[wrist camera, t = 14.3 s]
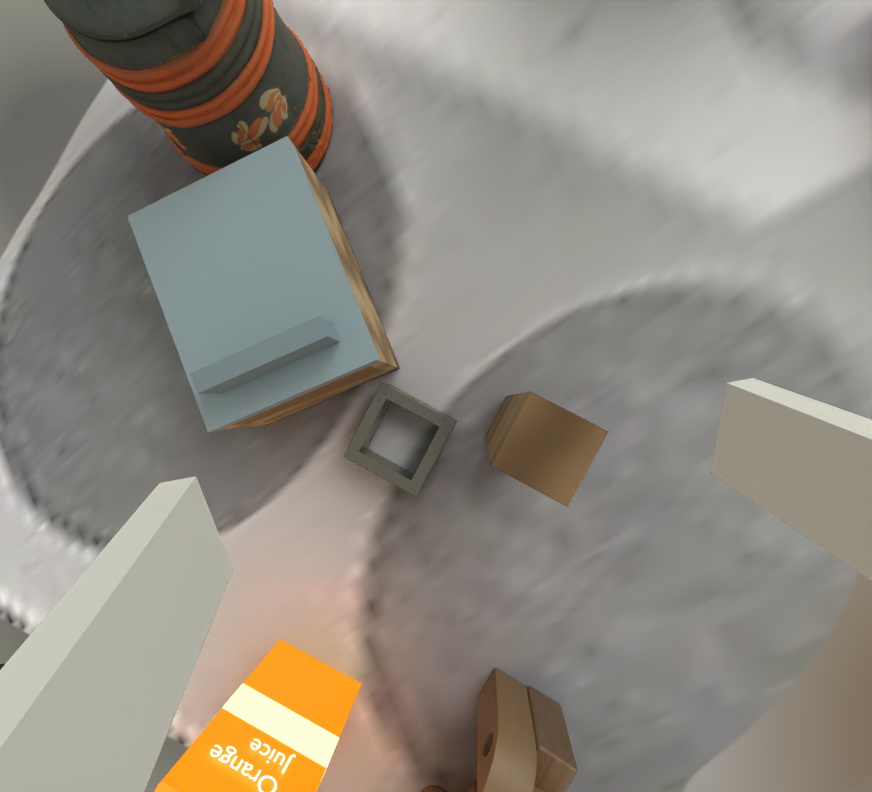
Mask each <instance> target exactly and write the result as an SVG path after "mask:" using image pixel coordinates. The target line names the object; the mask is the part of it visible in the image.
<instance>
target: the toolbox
mask: <svg viewBox="0 0 872 792" xmlns="http://www.w3.org/2000/svg"><path fill="white" fill-rule="evenodd" d="M295 148H296V147H295ZM296 151H297V153H298V156H299V158H300V161H301V163H302V166H303V168H304V171H305V173H306V176H307V178H308V181H309V183H310V186H311V188H312V191H313V193H314V196H315V198H316V201H317V203H318V206H319V208H320V211H321V213H322V216H323V218H324V221H325V223H326V226H327V228H328V230H329V233H330V235H331V238H332V240H333V243H334V245H335V248H336V250H337V253H338V255H339V258H340V260H341V263H342V265H343V268H344V270H345V273H346V275H347V278H348V280H349V283H350V285H351V288H352V290H353V293H354V295H355V298H356V300H357V303H358V305H359V308H360V310H361V313H362V315H363V318H364V320H365V323H366V325H367V328H368V330H369V333H370V335H371V338H372V340H373V343H374V345H375V348H376V350H377V352H378V355H379V357H380V360H381V361H380V362H378V363H376V364H373V365H371V366H369V367H366V368H364V369H362V370H359V371H357V372H355V373H352V374H350V375H348V376H345V377H343V378H341V379H338V380H336V381H334V382H331V383H329V384H327V385H324V386H322V387H320V388H317V389H315V390H313V391H310V392H308V393H306V394H303V395H301V396H299V397H297V398H294V399H292V400H290V401H287V402H285V403H283V404H280V405H278V406H276V407H273V408H271V409H269V410H266V411H264V412H262V413H259V414H257V415H255V416H252V417H250V418H248V419H245V420H243V421H241V422H238V423H236V424H234V425H231V426H229V427H227V428H224V429H222V430H225V429H234V428H243V427H252V426H261V425H267V424H270V423H272V422H274V421H277V420H279V419H281V418H284V417H286V416H288V415H291V414H293V413H295V412H298V411H300V410H302V409H305V408H307V407H310V406H312V405H314V404H317V403H319V402H321V401H324V400H326V399H328V398H331V397H333V396H335V395H338V394H340V393H343V392H345V391H347V390H350V389H352V388H354V387H357V386H359V385H361V384H364V383H366V382H368V381H371V380H373V379H375V378H378V377H380V376H383V375H385V374H387V373H390V372H392V371H394V370H397V369H399V365H398V363H397V360H396V358H395V356H394V353H393V351H392V348H391V346H390V343H389V341H388V338H387V336H386V333H385V331H384V328H383V326H382V323H381V321H380V318H379V316H378V313H377V311H376V308H375V306H374V304H373V301H372V299H371V296H370V294H369V291H368V289H367V286H366V284H365V281H364V279H363V276H362V274H361V271H360V269H359V266H358V264H357V261H356V259H355V256H354V254H353V252H352V249H351V247H350V244H349V242H348V239H347V237H346V234H345V232H344V229H343V227H342V224H341V222H340V219H339V217H338V214H337V212H336V209H335V207H334V205H333V202H332V200H331V197H330V195H329V192H328V191H327V190H326V188H325V187H324V186H323V184H322V183H321V181H320V180H319V179H318V177H317V176H316V175H315V173H314V172H313V170H312V169H311V168H310V166H309V165H308V164H307V162H306V161H305V159H304V158H303V157H302V155H301V154H300V153H299V151H298V150H297V148H296Z"/></svg>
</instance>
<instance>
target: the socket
mask: <svg viewBox="0 0 872 792" xmlns="http://www.w3.org/2000/svg"><path fill="white" fill-rule="evenodd" d="M391 401H392V402H394V403H396V404H398V405H399V406H401V407H403V408H405V409H407V410H409V411H411V412H412V413H414V414H416V415H418V416H420V417H422V418H424V419H426V420H427V421H429V422H431V423H433V424H435V425H437V426H439V429H438V431H437V432H436V434H435V436H434V438H433V440H432V442H431V444H430V446H429V448H428V450H427V452H426V453H425V455H424V457H423V459H422V461H421V463H420V465H419V467H418V469H417V471H416V473H415V474H412V473H411V472H409V471H407V470H405V469H403V468H402V467H400V466H398V465H396V464H394V463H393V462H391V461H389V460H387V459H385V458H383V457H382V456H380V455H378V454H376V453H374V452H373V451H371V450H369V449H367V447H368V445H369V443H370V441H371V439H372V437H373V435H374V433H375V431H376V429H377V428H378V426H379V424H380V422H381V420H382V418H383V416H384V414H385V412H386V410H387V408H388V406H389V404H390V402H391ZM456 422H457V420H455V419H453V418H451V417H449V416H447V415H445V414H444V413H442V412H440V411H438V410H436V409H434V408H432V407H430V406H429V405H427V404H425V403H423V402H421V401H419V400H417V399H415V398H413V397H412V396H410V395H408V394H406V393H404V392H402V391H400V390H398V389H396V388H395V387H393V386H391V385H389V384H385V383H381V385H380V387H379V388H378V390H377V392H376V394H375V396H374V398H373V400H372V402H371V404H370V406H369V408H368V410H367V412H366V414H365V416H364V418H363V420H362V421H361V423H360V425H359V427H358V429H357V431H356V433H355V435H354V437H353V439H352V441H351V443H350V445H349V447H348V449H347V451H346V453H345V454H344V457H346V458H348V459H349V460H351V461H353V462H355V463H357V464H358V465H360V466H362V467H364V468H365V469H367V470H369V471H371V472H373V473H374V474H376V475H378V476H380V477H382V478H383V479H385V480H387V481H389V482H391V483H392V484H394V485H396V486H398V487H399V488H401V489H403V490H405V491H407V492H408V493H410V494H412V495H414V496H417V495H418V493H419V492H420V490H421V488H422V486H423V484H424V482H425V481H426V479H427V477H428V475H429V473H430V471H431V469H432V467H433V465H434V463H435V462H436V460H437V458H438V456H439V454H440V452H441V450H442V448H443V446H444V444H445V443H446V441H447V439H448V437H449V435H450V433H451V431H452V429H453V427H454V425H455V424H456Z"/></svg>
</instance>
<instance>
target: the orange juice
mask: <svg viewBox="0 0 872 792" xmlns="http://www.w3.org/2000/svg"><path fill="white" fill-rule="evenodd" d="M360 686H361V683H359V682H357V681H355V680H353V679H352V678H350V677H348V676H346V675H344V674H342V673H341V672H339V671H337V670H335V669H333V668H331V667H330V666H328V665H326V664H324V663H322V662H320V661H319V660H317V659H315V658H313V657H311V656H309V655H308V654H306V653H304V652H302V651H300V650H298V649H297V648H295V647H293V646H291V645H289V644H288V643H286V642H284V641H282V640H279V642H278V643H277V644H276V645H275V646H274V648H273V649H272V650H271V651H270V652H269V653H268V655H267V656H266V657H265V658H264V659H263V661H262V662H261V663H260V664H259V665H258V667H257V668H256V669H255V670H254V671H253V673H252V674H251V675H250V676H249V677H248V678H247V680H246V681H245V682H244V683H242V685H241V686H240V687H239V688H238V689H237V691H236V692H235V693H234V694H233V695H232V697H231V698H230V699H229V700H228V701H227V702H226V704H225V705H224V706H223V707H222V709H221V711H220V712H219V713H218V714H217V715H216V717H215V718H214V719H213V720H212V721H211V723H210V724H209V725H208V726H207V727H206V729H205V730H204V731H203V732H202V733H201V734H200V736H199V737H198V738H197V739H196V740H195V742H194V743H193V744H192V745H191V746H190V748H189V749H188V750H187V751H186V752H185V754H184V755H183V756H182V757H181V758H180V760H179V761H178V762H177V763H176V765H174V767H173V768H172V769H171V770H170V772H169V773H168V774H167V775H166V776H165V777H164V779H163V780H162V781H161V782H160V784H159V785H158V786H157V788H156V790H155V792H316V791H317V789H318V786H319V784H320V782H321V780H322V778H323V775H324V773H325V771H326V769H327V767H328V764H329V762H330V759H331V757H332V755H333V752H334V750H335V747H336V745H337V743H338V740H339V736H340V734H341V732H342V729H343V727H344V724H345V722H346V720H347V717H348V715H349V713H350V710H351V708H352V705H353V703H354V701H355V698H356V696H357V694H358V691H359V689H360Z"/></svg>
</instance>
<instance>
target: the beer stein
mask: <svg viewBox="0 0 872 792" xmlns="http://www.w3.org/2000/svg"><path fill="white" fill-rule="evenodd" d="M44 1H45V3H46V4H47V6H48V7H49V9H50V10H51V11H52V12H53V13H54V14H55V15H56V16H57V17H58V18H59V19H60V20H61V21H62V22H63V24H64V27H65V29H66V31H67V32H68V34H69V36H70V38H71V39H72V41H73V42H74V43H75V45H76V46H77V48H78V49H79V50H80V51H81V52H82V53H83V54H84V56H85V57H87V58H88V59H89V60H90V61H91V62H92V63H93V64H94V65H95V66H96V67H97V68H99V69H100V71H101V72H102V73H103V74H104V75H105V76H106V77H107V78H108V79H109V80H110V81H111V82H112V83H113V85H114V86H115V87H116V89H117V90H118V91H119V92H120V93H121V94H122V95H123V96H124V97H125V98H127V99H128V100H129V101H130V102H131V103H132V104H133V105H134V106H135V107H136V108H137V109H138V110H140V111H141V112H142V113H144V114H145V115H147V116H149V117H150V118H152V119H154V120H155V121H156V122H157V123H158V124H159V125H160V126H161V127H162V128H163V129H164V130H165V132H166V134H167V136H168V138H169V140H170V141H171V143H172V144H173V145H174V147H175V148H176V149H177V150H178V152H179V153H180V154H181V155H182V156H184V157H185V158H186V159H187V160H188V161H189V162H190V163H191V164H192V165H193V166H194V167H195V168H196V169H197V170H198V171H199V172H200V173H201V174H202V175H203V176H204V177H206V176H208V175H210V174H212V173H214V172H216V171H218V170H220V169H222V168H224V167H226V166H228V165H230V164H232V163H234V162H236V161H238V160H240V159H242V158H244V157H246V156H248V155H250V154H252V153H254V152H256V151H258V150H260V149H262V148H264V147H266V146H268V145H270V144H272V143H274V142H276V141H278V140H280V139H282V138H284V137H286V136H288V138H289V139H290V140H291V142H292V143H293V145H294V146H295V147H296V148H297V150H298V151H299V153H300V154H301V155H302V157H303V158H304V159H305V161H306V162H307V164H308V165H309V166H310V168H311V169H312V170H313V172H314V171H315V170H316V168H317V167H318V166H319V163H320V161H321V159H322V158H323V156H324V154H325V152H326V150H327V147H328V143H329V140H330V136H331V131H332V127H333V123H332V111H333V110H332V104H331V102H332V100H331V97H330V96H329V87H327V86H326V85H325V83H324V81H323V79H322V76H321V75H320V73H319V72H318V69H317V67H316V66H315V64H314V62H313V60H312V58H311V57H310V55H309V53H308V51H307V50H306V48H305V47H304V45H303V44H302V42H301V40H300V39H299V38H298V36H297V35H296V34H295V33H294V32H293V31H292V30H291V29H290V28H289V27H287V26H286V25H285V23H284V22H283V20H282V18H281V17H280V15H279V14H278V12H277V11H276V9H275V8H274V7H273V2H272V0H44Z"/></svg>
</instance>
